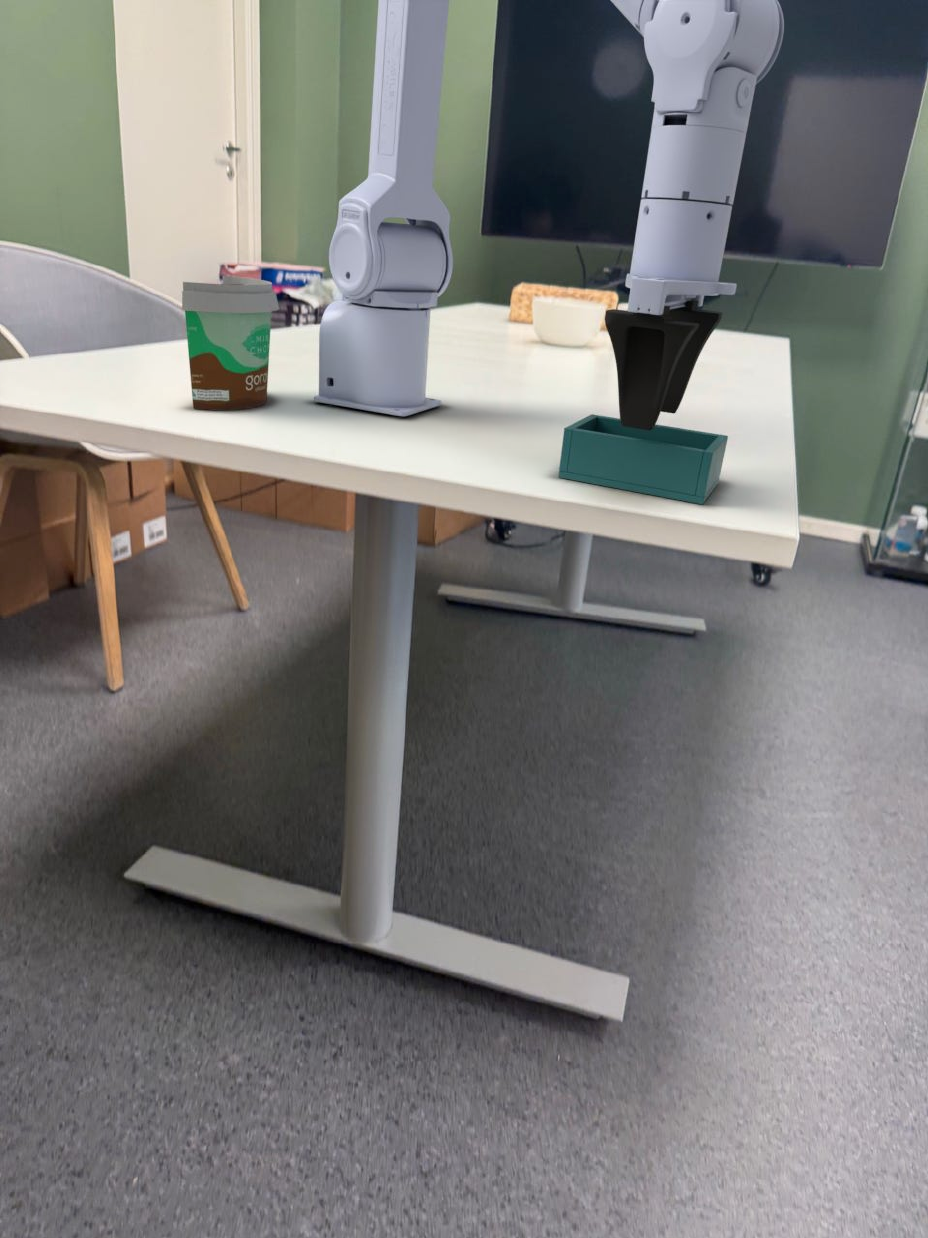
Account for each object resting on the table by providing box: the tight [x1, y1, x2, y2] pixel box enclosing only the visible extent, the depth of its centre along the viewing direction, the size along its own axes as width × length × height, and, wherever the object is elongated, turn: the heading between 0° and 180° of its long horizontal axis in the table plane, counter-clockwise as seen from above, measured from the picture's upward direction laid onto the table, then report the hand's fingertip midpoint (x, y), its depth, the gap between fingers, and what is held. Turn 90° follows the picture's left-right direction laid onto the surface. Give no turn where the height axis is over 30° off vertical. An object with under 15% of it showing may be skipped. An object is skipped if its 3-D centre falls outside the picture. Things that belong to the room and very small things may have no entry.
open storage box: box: [558, 414, 729, 505], centre depth 60 cm, size 10×7×4 cm, turn 66°
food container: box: [181, 275, 280, 411], centre depth 73 cm, size 12×6×10 cm, turn 179°
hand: (649, 418), depth 59 cm, fingers open, 7 cm apart
